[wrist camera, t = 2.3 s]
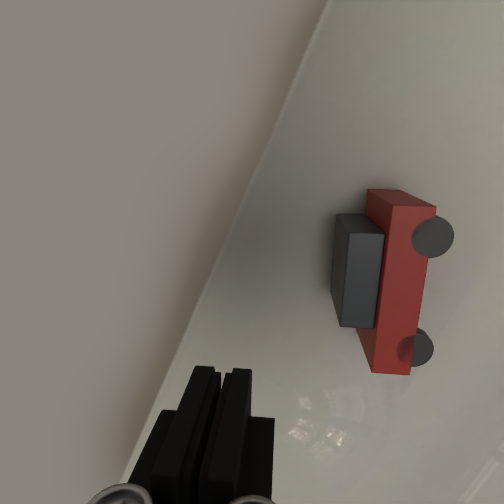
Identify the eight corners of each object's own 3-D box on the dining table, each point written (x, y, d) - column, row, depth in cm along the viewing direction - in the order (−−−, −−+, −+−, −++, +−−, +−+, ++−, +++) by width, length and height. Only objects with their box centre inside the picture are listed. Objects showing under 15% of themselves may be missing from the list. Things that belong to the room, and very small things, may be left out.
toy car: (337, 187, 24) (353, 203, 18) (417, 190, 24) (459, 207, 18) (326, 320, 26) (337, 370, 21) (398, 324, 26) (429, 377, 20)
